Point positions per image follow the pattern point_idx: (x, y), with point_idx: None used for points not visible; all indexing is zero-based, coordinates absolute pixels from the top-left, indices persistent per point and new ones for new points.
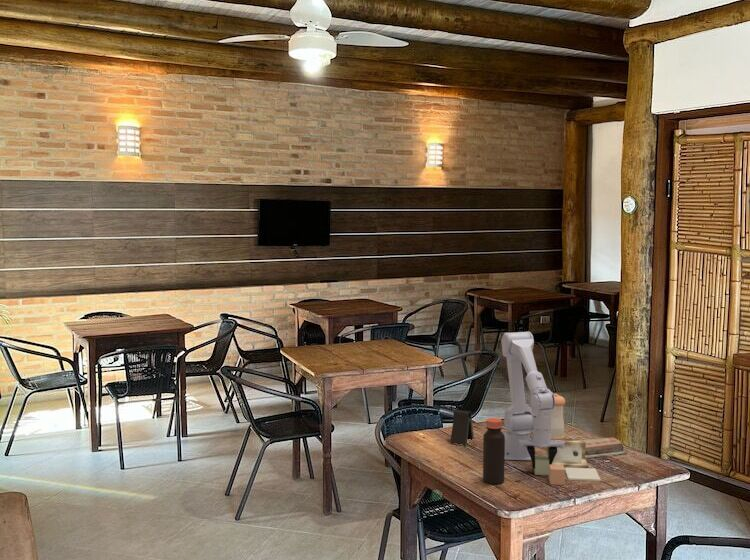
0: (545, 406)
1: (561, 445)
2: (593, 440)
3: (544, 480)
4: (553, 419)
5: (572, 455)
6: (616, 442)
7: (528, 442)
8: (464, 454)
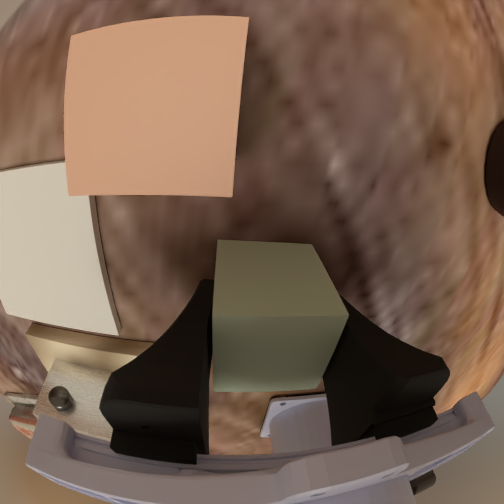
0: None
1: (58, 452)
2: None
3: (271, 135)
4: None
5: (77, 396)
6: (15, 424)
7: (460, 448)
8: (447, 383)
